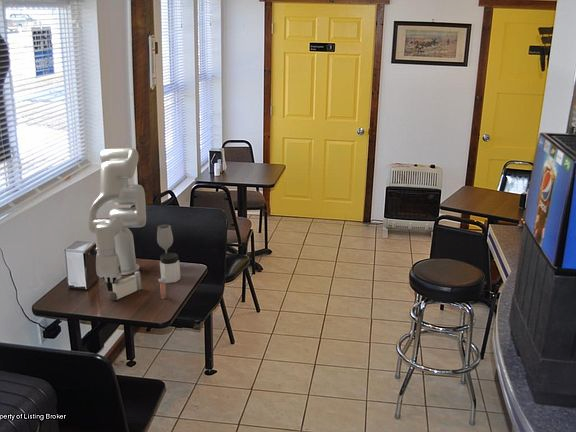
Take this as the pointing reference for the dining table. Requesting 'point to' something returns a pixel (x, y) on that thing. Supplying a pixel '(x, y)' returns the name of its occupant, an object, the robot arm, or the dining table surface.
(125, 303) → the dining table surface
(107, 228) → the robot arm
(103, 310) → the dining table surface
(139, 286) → the gate
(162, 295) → the end post
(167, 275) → the jar
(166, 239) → the wineglass
